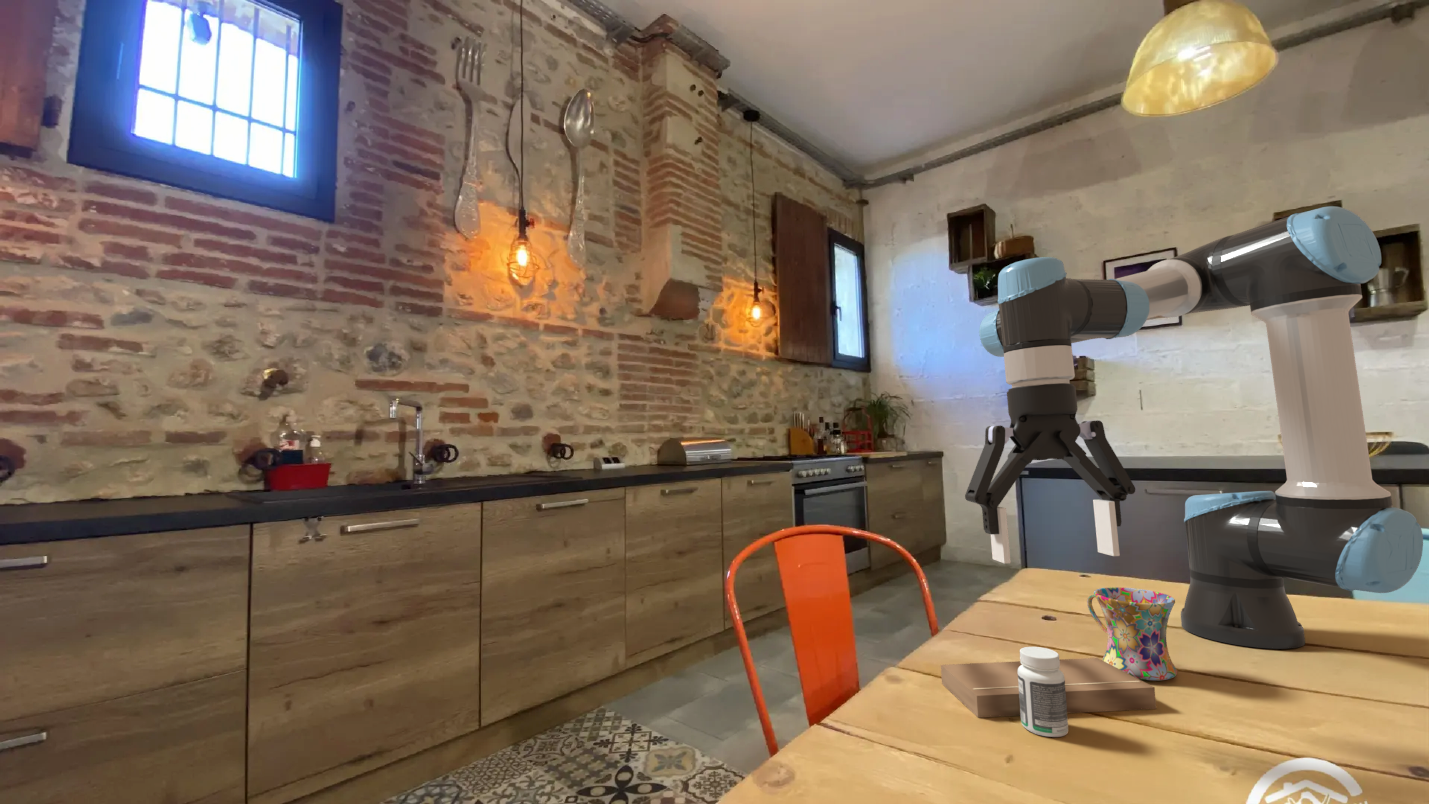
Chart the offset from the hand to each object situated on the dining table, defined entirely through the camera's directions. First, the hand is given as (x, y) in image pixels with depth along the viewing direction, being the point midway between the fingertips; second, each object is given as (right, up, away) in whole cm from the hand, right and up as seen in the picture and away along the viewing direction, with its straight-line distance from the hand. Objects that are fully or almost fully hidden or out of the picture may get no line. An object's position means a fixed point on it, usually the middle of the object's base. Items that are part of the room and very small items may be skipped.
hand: (1055, 557), depth 72 cm
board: (+1, -19, +4) cm, 19 cm away
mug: (+17, -19, +11) cm, 28 cm away
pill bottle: (-4, -18, -5) cm, 19 cm away
